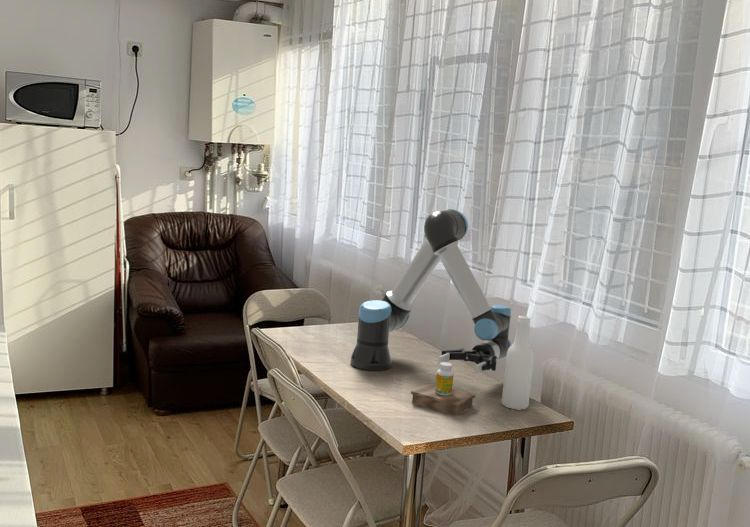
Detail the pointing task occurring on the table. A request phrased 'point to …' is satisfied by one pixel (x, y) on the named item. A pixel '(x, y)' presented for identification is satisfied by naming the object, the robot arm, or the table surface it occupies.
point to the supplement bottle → (444, 379)
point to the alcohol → (518, 368)
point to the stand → (442, 399)
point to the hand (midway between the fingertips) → (457, 365)
